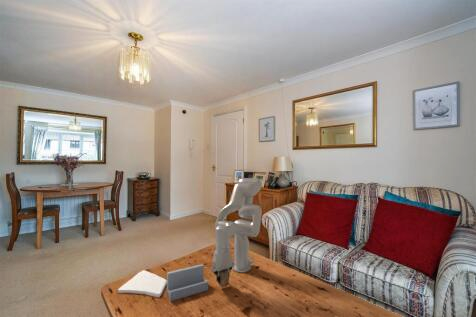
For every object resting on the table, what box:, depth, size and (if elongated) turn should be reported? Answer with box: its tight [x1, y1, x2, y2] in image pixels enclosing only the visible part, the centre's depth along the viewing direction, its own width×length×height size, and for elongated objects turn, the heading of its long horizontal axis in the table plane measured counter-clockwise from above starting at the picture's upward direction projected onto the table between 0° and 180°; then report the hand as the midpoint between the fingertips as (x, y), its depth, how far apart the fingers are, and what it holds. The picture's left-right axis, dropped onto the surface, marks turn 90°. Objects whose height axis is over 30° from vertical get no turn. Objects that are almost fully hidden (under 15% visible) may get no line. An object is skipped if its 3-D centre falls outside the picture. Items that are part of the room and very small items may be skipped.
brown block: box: [217, 269, 230, 288], centre depth 116 cm, size 4×6×8 cm
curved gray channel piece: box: [166, 264, 209, 302], centre depth 114 cm, size 20×10×10 cm, turn 118°
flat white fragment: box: [117, 269, 167, 298], centre depth 119 cm, size 21×4×25 cm
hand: (223, 280), depth 116 cm, fingers closed on brown block, 4 cm apart
